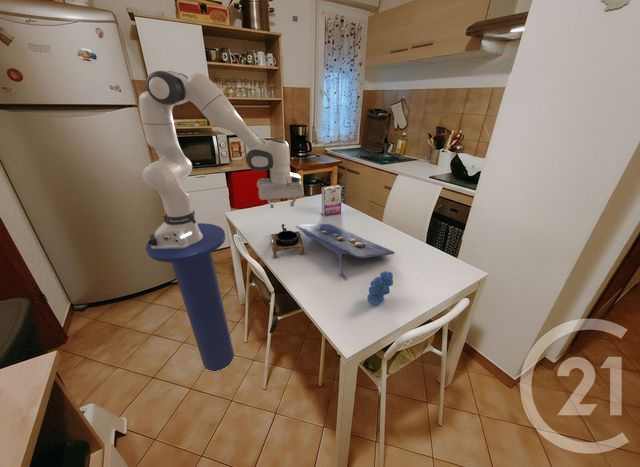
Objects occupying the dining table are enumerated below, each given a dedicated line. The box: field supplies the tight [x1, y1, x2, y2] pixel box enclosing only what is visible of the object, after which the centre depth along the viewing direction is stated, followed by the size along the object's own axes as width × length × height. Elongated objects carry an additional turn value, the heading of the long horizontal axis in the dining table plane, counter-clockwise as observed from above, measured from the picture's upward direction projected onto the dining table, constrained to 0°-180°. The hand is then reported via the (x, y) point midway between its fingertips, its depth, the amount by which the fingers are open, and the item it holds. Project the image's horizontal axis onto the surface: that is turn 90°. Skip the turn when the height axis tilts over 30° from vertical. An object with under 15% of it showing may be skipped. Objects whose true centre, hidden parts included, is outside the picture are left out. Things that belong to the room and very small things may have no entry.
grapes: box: [366, 270, 394, 306], centre depth 89 cm, size 12×7×12 cm, turn 129°
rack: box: [269, 230, 306, 259], centre depth 121 cm, size 14×14×5 cm
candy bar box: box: [321, 184, 343, 217], centre depth 155 cm, size 11×5×16 cm, turn 113°
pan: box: [275, 223, 299, 247], centre depth 123 cm, size 10×19×3 cm, turn 14°
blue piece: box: [295, 223, 396, 280], centre depth 122 cm, size 45×27×12 cm, turn 40°
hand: (282, 206), depth 122 cm, fingers open, 8 cm apart
